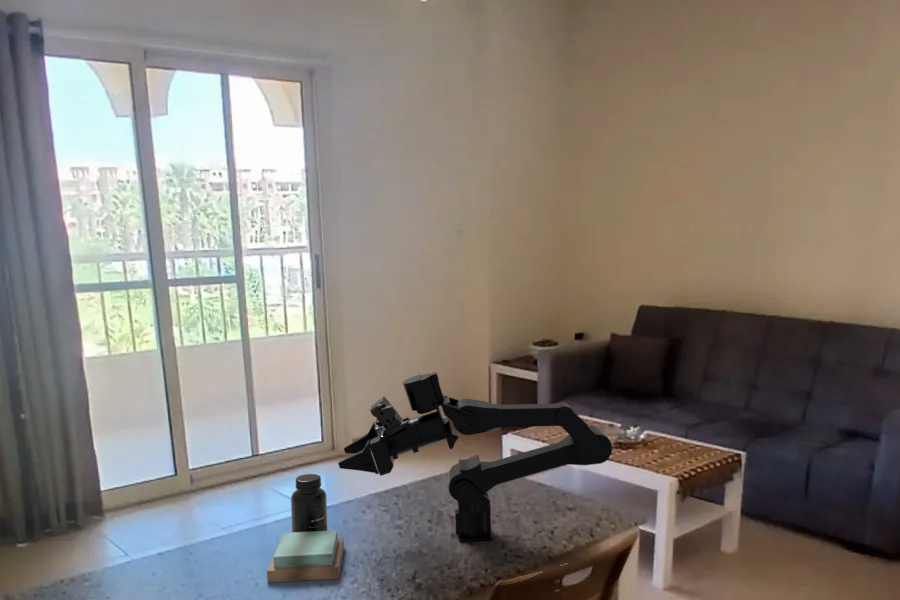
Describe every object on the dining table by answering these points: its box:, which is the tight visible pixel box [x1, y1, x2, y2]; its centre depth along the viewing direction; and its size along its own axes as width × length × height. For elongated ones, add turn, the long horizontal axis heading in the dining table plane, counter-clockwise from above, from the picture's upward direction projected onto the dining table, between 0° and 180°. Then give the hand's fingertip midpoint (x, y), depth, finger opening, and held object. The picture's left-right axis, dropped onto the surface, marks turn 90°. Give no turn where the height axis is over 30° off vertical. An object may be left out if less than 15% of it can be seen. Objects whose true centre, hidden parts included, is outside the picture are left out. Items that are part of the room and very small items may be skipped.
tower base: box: [266, 529, 345, 583], centre depth 128 cm, size 12×12×4 cm
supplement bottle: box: [290, 473, 328, 533], centre depth 139 cm, size 7×7×12 cm
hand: (341, 457), depth 137 cm, fingers open, 9 cm apart
